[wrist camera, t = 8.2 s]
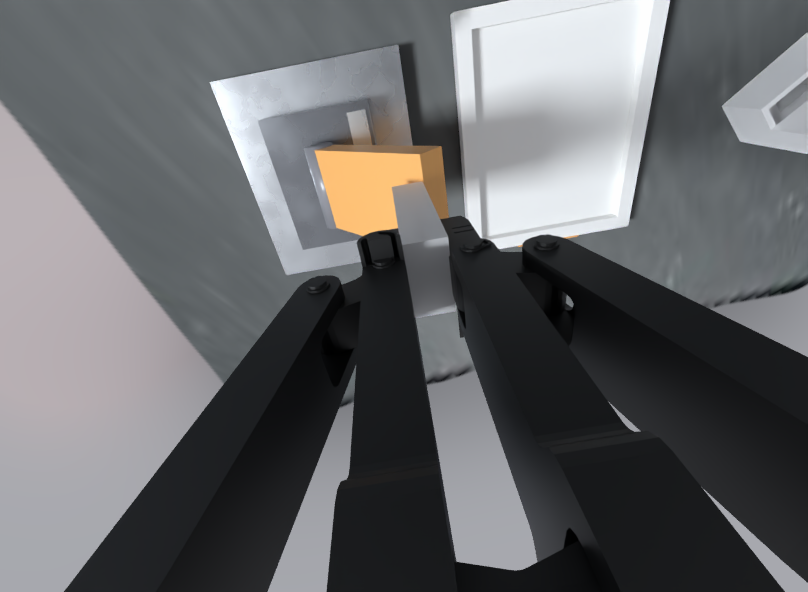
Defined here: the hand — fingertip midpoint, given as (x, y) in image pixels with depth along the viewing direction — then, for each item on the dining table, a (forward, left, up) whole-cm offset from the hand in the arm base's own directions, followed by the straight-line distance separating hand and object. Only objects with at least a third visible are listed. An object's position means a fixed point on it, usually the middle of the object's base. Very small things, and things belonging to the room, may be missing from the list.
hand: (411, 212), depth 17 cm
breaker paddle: (0, -5, -8) cm, 9 cm away
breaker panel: (0, -5, -11) cm, 12 cm away
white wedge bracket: (0, +27, -12) cm, 30 cm away
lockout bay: (0, +11, -11) cm, 16 cm away
